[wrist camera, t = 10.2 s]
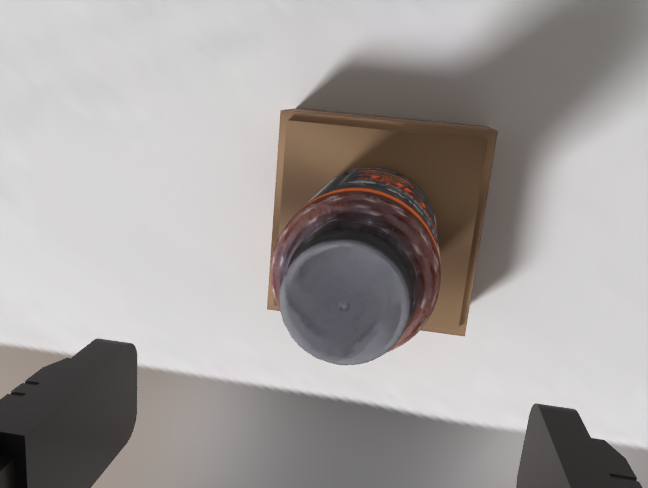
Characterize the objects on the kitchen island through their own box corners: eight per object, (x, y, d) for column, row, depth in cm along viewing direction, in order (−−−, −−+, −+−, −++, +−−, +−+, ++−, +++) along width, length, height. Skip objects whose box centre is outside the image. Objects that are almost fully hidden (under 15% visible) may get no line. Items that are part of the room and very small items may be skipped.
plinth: (295, 108, 32) (278, 110, 28) (488, 127, 31) (498, 132, 27) (282, 287, 34) (265, 311, 31) (459, 311, 33) (465, 339, 29)
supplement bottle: (458, 194, 28) (485, 261, 17) (403, 305, 29) (396, 429, 19) (339, 142, 28) (290, 174, 17) (292, 254, 30) (220, 348, 19)
